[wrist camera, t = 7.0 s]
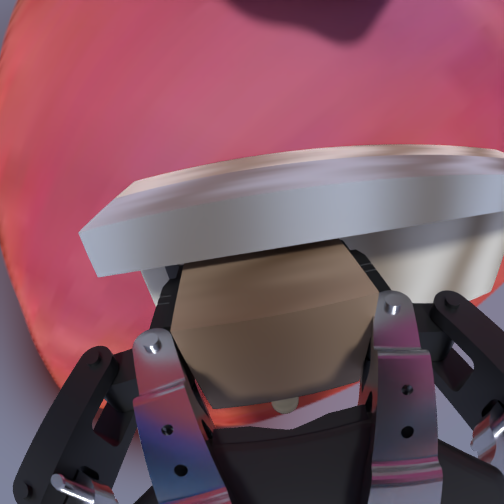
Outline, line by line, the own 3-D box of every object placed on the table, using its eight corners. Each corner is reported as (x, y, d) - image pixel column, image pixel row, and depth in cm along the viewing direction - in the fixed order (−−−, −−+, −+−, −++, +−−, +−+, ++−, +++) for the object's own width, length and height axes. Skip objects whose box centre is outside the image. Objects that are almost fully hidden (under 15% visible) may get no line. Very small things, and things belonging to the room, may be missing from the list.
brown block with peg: (318, 213, 10) (379, 291, 6) (319, 343, 14) (346, 420, 10) (190, 235, 10) (170, 331, 6) (229, 359, 14) (234, 442, 10)
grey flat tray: (495, 149, 11) (555, 176, 6) (473, 273, 16) (512, 315, 11) (134, 181, 12) (78, 232, 7) (189, 334, 16) (180, 409, 12)
